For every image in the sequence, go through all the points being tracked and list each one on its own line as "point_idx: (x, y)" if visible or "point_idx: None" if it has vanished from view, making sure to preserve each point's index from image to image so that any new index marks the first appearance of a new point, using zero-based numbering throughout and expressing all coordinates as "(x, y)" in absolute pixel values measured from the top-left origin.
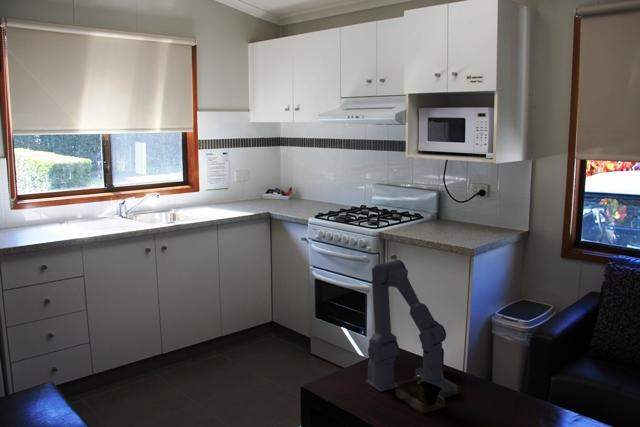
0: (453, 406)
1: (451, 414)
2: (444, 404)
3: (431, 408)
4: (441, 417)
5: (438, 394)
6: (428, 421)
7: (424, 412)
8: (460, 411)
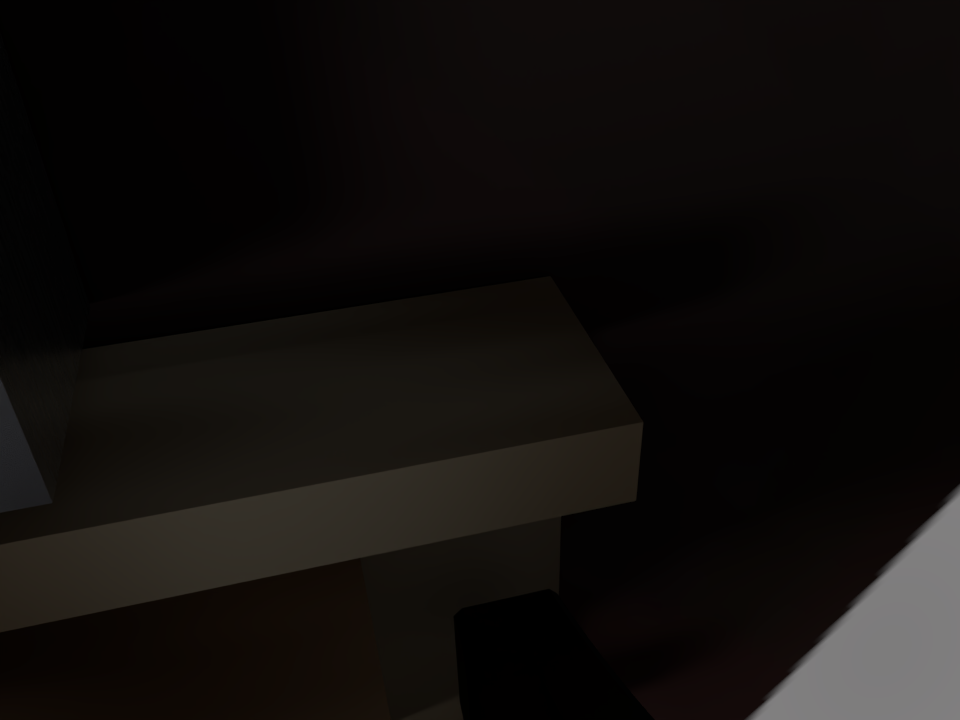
0: (641, 30)
1: (873, 306)
2: (576, 331)
3: None
4: (816, 514)
5: (30, 303)
6: (767, 701)
7: None
8: (939, 25)
